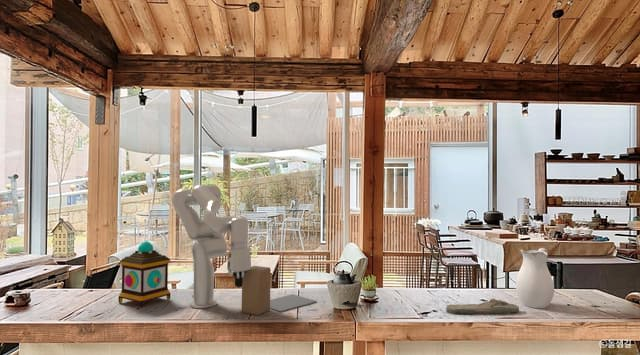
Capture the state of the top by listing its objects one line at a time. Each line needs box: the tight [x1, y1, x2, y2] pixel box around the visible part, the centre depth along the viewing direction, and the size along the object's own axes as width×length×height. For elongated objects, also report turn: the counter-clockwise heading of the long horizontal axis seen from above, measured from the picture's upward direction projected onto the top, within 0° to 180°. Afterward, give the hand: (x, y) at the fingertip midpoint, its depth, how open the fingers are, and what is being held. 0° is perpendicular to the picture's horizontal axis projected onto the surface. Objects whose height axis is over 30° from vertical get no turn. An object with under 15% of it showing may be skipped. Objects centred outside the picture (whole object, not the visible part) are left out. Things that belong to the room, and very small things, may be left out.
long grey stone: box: [445, 298, 520, 315], centre depth 195 cm, size 35×5×10 cm
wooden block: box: [241, 265, 272, 316], centre depth 192 cm, size 10×10×20 cm
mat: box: [270, 293, 318, 313], centre depth 205 cm, size 18×24×1 cm
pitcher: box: [515, 247, 555, 309], centre depth 209 cm, size 24×17×28 cm
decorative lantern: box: [117, 240, 171, 309], centre depth 206 cm, size 20×20×30 cm
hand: (238, 286), depth 185 cm, fingers closed
